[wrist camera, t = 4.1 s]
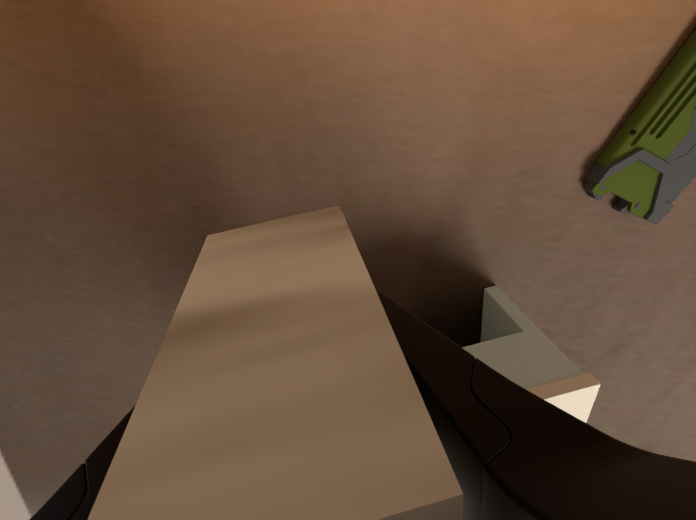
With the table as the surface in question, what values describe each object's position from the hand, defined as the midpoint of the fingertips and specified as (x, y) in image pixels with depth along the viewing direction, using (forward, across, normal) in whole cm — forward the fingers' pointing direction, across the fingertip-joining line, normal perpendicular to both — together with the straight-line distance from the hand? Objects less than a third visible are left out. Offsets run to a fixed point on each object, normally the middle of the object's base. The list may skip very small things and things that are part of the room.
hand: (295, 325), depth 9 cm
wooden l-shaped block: (+3, 0, +6) cm, 7 cm away
